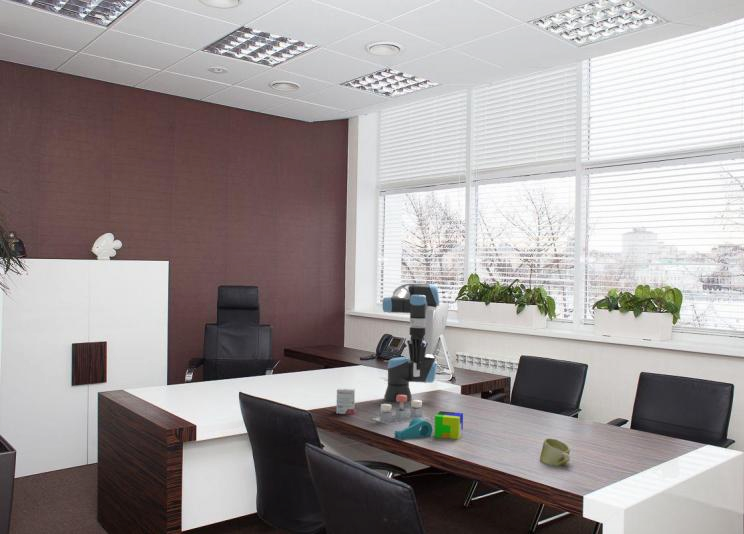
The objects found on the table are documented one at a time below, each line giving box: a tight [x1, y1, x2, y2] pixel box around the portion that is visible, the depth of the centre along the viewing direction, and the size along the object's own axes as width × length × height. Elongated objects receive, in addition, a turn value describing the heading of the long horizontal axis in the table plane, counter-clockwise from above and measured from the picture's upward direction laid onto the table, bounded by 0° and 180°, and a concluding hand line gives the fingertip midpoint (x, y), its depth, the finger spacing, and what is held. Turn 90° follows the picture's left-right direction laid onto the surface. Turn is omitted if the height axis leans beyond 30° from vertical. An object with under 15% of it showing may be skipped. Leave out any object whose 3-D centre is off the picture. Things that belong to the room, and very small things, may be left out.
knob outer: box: [380, 403, 393, 413], centre depth 286 cm, size 5×5×7 cm
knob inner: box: [410, 399, 423, 408], centre depth 297 cm, size 5×5×7 cm
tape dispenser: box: [394, 418, 433, 440], centre depth 261 cm, size 7×15×8 cm, turn 113°
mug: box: [539, 437, 571, 466], centre depth 225 cm, size 12×10×10 cm
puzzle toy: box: [434, 410, 464, 440], centre depth 263 cm, size 10×10×10 cm
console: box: [372, 406, 431, 426], centre depth 292 cm, size 24×13×5 cm, turn 125°
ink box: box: [335, 388, 356, 415], centre depth 304 cm, size 9×5×12 cm, turn 84°
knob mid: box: [396, 395, 408, 410], centre depth 292 cm, size 5×5×7 cm
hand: (416, 376), depth 296 cm, fingers closed
